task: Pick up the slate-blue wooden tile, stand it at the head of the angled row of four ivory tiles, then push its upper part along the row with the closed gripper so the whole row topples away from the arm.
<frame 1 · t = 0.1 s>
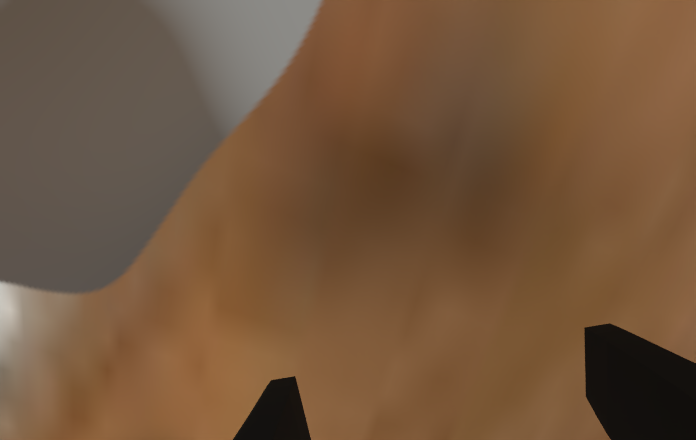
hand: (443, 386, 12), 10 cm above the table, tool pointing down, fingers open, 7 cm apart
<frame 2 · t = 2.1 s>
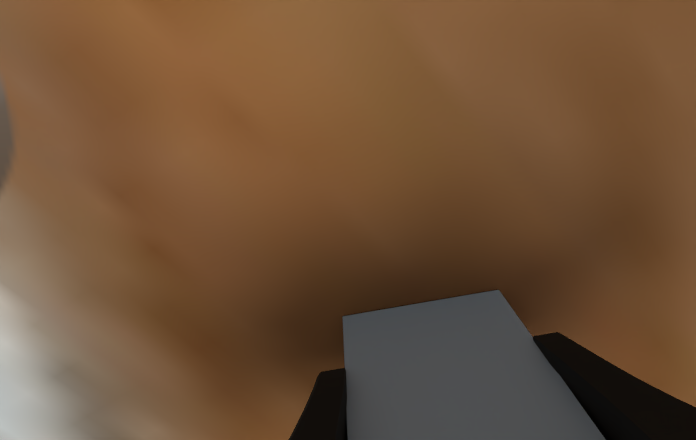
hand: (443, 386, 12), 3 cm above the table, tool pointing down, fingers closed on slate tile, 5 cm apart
slate tile: (424, 329, 15), on the table, touching gripper
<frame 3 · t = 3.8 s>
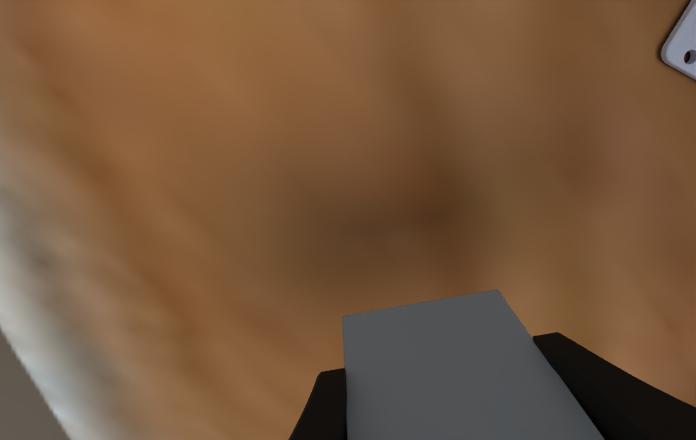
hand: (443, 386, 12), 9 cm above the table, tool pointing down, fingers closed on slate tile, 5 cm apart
slate tile: (423, 329, 15), point 7 cm above the table, touching gripper
when the fingers open (3 cm above the table, at t = 5.3 s): slate tile stays where it is, on the table.
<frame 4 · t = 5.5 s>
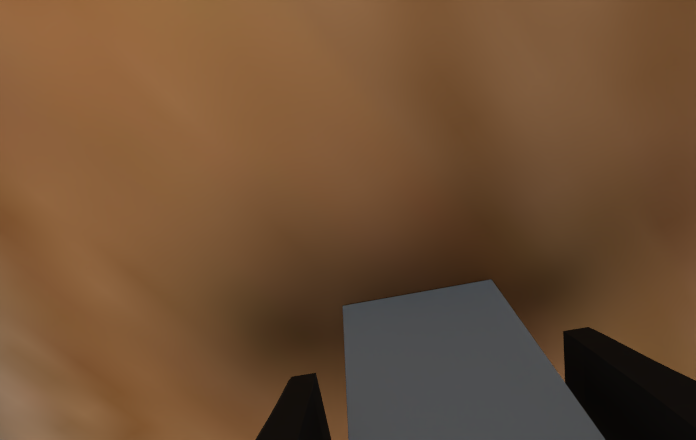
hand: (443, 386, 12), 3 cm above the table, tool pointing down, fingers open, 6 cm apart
slate tile: (420, 318, 15), on the table
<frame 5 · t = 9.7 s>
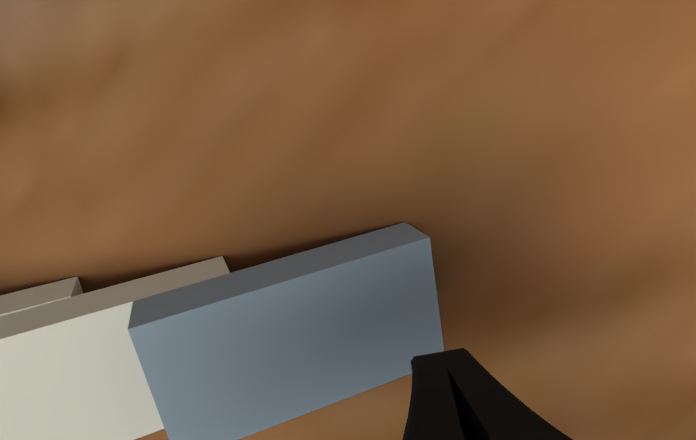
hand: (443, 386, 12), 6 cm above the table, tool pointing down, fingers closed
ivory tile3: (94, 344, 17), point 1 cm above the table, tilted 70°, touching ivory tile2, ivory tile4
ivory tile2: (240, 324, 17), point 1 cm above the table, tilted 70°, touching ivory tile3, slate tile
slate tile: (425, 291, 17), point 1 cm above the table, tilted 73°, touching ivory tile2
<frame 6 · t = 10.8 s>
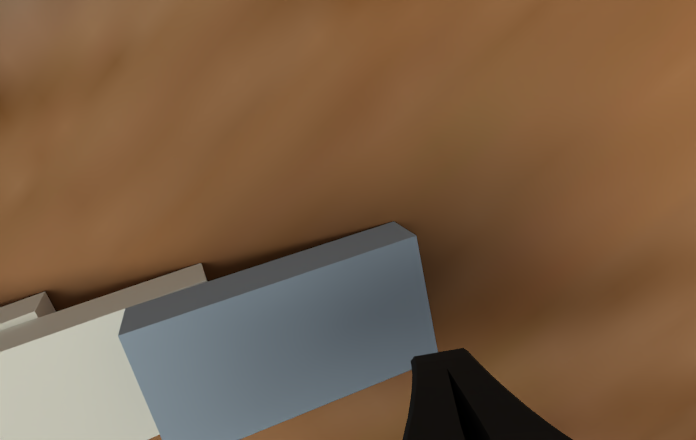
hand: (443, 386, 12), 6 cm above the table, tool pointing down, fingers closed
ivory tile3: (69, 356, 17), point 1 cm above the table, tilted 70°, touching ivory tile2
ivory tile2: (223, 329, 17), point 1 cm above the table, tilted 70°, touching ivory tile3
slate tile: (416, 289, 17), point 1 cm above the table, tilted 73°
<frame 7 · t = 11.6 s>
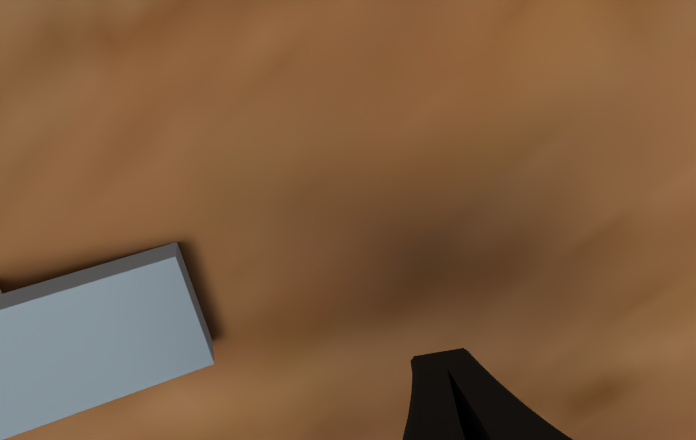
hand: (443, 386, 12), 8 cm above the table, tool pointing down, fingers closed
slate tile: (195, 302, 19), point 1 cm above the table, tilted 74°, touching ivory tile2
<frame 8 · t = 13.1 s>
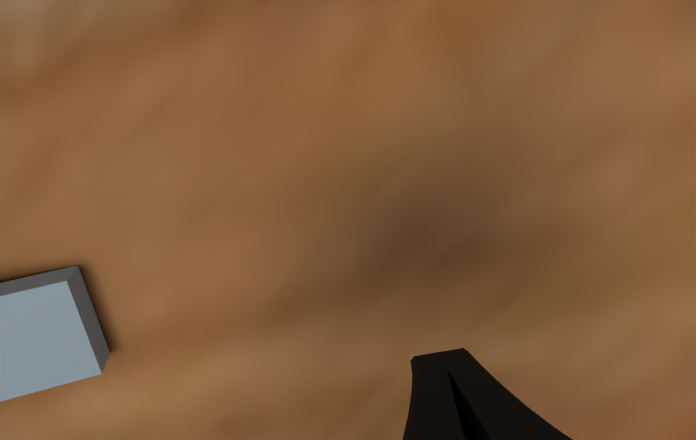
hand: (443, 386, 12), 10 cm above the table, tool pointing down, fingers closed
slate tile: (89, 319, 22), point 1 cm above the table, tilted 77°
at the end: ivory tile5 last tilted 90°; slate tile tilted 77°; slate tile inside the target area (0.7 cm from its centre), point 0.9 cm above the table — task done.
